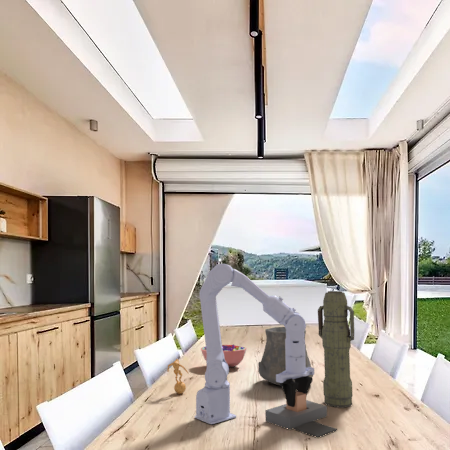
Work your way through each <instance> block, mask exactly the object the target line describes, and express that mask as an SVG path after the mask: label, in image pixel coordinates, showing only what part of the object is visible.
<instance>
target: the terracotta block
mask: <svg viewBox="0 0 450 450" xmlns="http://www.w3.org/2000/svg"><path fill="white" fill-rule="evenodd" d="M306 400H307V397H306V394H305V393H302V392H298V391H297V390H296V395H295V406H294V407H291V406H288V404H287V400H286V399H285V402H286V403H285V404H286V408H287V409H289V410H292V411H295V412H300V411H303V410H306V409H307V407H306Z"/></svg>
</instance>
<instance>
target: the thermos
mask: <svg viewBox="0 0 450 450" xmlns="http://www.w3.org/2000/svg"><path fill="white" fill-rule="evenodd" d="M348 311H349V314H348ZM354 313H355V312H354V309H353V308H352V307H351V306H349V305H348V299H347V295H346V294H345V292H343V291H342V290H341V291H340V290H329V291H327V292H325V294H324V296H323V301H322V305H320V306H319V307H318V309H317V322H318V336H319V337H320V338H321V339H322V340H321V341H322V347H323V352H324V353H323V357H324V359H323V361H324V362H323V363H324V378H323V381H322V382H323V383H322V384H323V387H322V388H323V397H324V402H323V403H324V405H326V404H327V405H326V406H328V405H329V406H328V407H332V406H334V407H333V408H349V407H351V405H352V406H353V395H354V394H353V381H352V379H351V364H350V363H351V361H350V349H351V342H353V341H354V340H355V314H354ZM348 316H349V321H348ZM349 325H350V326H349Z"/></svg>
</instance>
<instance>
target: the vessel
mask: <svg viewBox="0 0 450 450" xmlns="http://www.w3.org/2000/svg"><path fill="white" fill-rule="evenodd" d="M264 332H265V335H266V337H265V339H266V340H265V346H264V350H263V353H262V356H261V360H260V361H259V362H258V363H257V365H258V366H257V367H258V374H259V376H260V377H261V378H262V379H263V380H264V381H267V382H269V383H271V384H273V385H276V386H281V385H280V383H279V382H276V375H277V374H280V373H282V372H283V371H285V370H286V361H285V339H286V328H285V326H278V327H276V326H275V327H270V328H265V331H264ZM306 332H307V330H306V329H305V331H304V333H305V335H306V334H307V333H306ZM304 339H305V340H306V336H305V337H304ZM307 351H308V350H307V344H306V343H305V359H306V367H312V365H311V361H310V357H309V355H308V352H307ZM309 377H312V378H313V377H314V375H309ZM293 381H294V382H295V380H294V379H293Z"/></svg>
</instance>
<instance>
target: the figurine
mask: <svg viewBox="0 0 450 450" xmlns="http://www.w3.org/2000/svg"><path fill="white" fill-rule="evenodd" d="M179 362H180V361H179V358H176V359H175V360H174V361H172V362H171V363H169V364H168V365H167V371H166V372H167V373H168V372H170V367H173V374H175V381H176V383H175V384H174V386H173V389H174V392H175V393H176V394H178V395H182V394H183V393H185V392H186V389H187V386H186V383H184V382H183V381H182V380H181V379H182V377H183V373H182V371H181V370H180V368H182V369H183V370H184V371H185V372H186V373H187V374H189V372H188V370H187V368H186V367H185V366H183V365H182V364H181V363H179ZM178 375H179V379H178Z"/></svg>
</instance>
